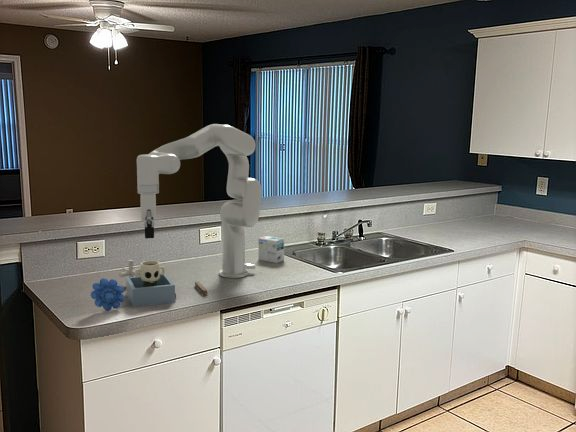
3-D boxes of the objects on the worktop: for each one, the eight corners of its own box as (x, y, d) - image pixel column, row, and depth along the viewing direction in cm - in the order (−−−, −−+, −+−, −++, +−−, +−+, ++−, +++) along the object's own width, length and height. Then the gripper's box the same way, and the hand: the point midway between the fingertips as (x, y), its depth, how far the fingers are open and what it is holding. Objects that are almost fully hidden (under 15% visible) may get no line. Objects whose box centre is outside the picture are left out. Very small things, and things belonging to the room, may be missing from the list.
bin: (166, 289, 226) (166, 273, 225) (175, 302, 212) (174, 285, 211) (126, 294, 220) (126, 277, 219) (132, 307, 206) (132, 289, 205)
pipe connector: (134, 279, 238) (133, 255, 236) (149, 284, 232) (148, 260, 230) (113, 284, 231) (112, 260, 229) (128, 290, 225) (127, 265, 223)
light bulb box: (284, 260, 273) (284, 238, 271) (276, 263, 267) (277, 240, 265) (265, 256, 278) (266, 235, 276) (257, 259, 272) (258, 237, 270)
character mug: (138, 301, 210) (137, 267, 208) (133, 295, 217) (132, 262, 214) (167, 297, 215) (167, 263, 213) (162, 291, 222) (161, 259, 219)
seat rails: (199, 286, 231) (198, 281, 231) (207, 295, 221) (207, 290, 220) (165, 289, 226) (165, 284, 226) (171, 299, 215) (171, 294, 215)
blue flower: (93, 317, 196) (92, 283, 194) (89, 310, 202) (88, 277, 199) (128, 311, 201) (127, 278, 199) (123, 305, 207) (122, 273, 205)
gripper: (137, 185, 216) (139, 230, 219) (137, 192, 199) (138, 240, 203) (158, 185, 218) (159, 229, 221) (159, 192, 201) (160, 240, 204)
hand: (149, 235), depth 212 cm, fingers open, 9 cm apart
